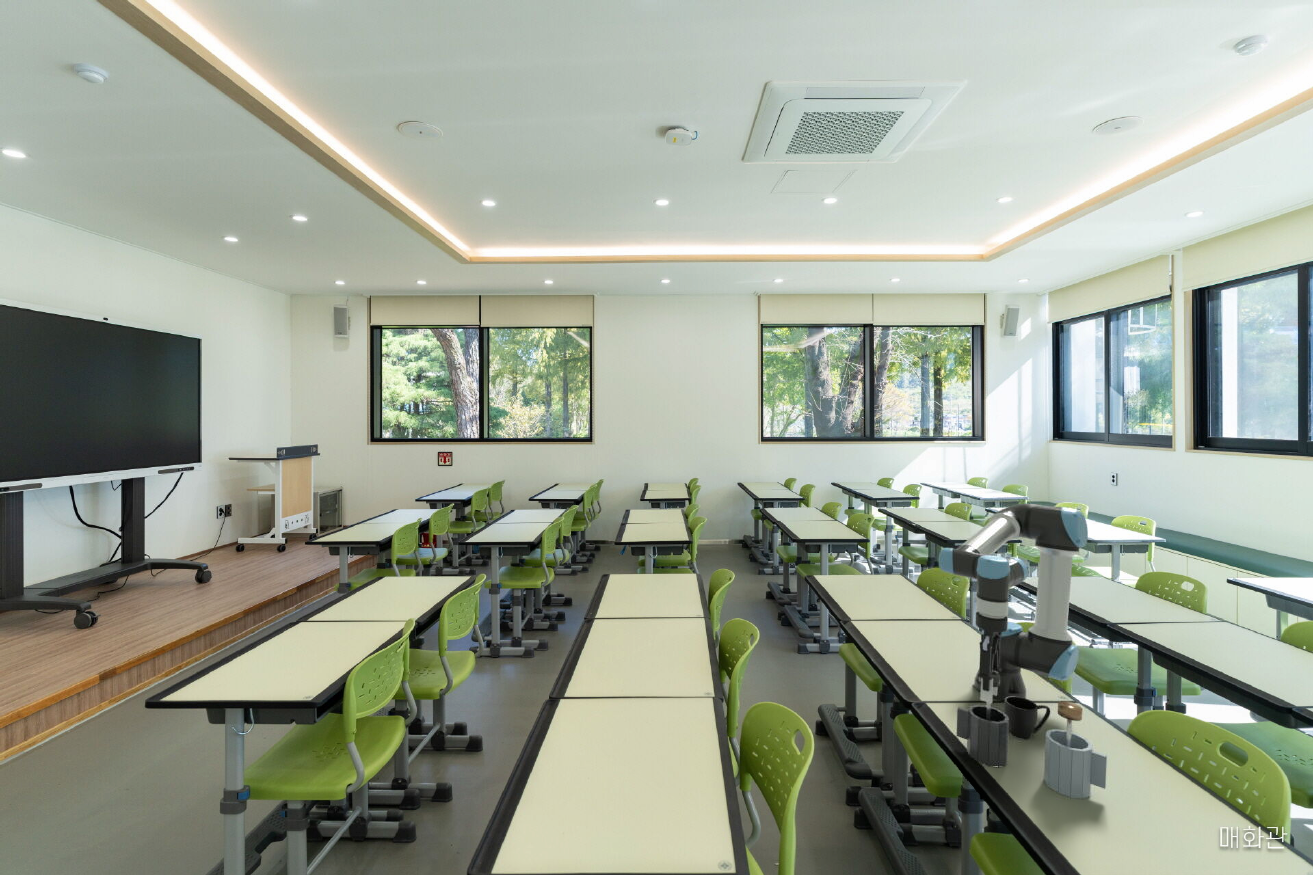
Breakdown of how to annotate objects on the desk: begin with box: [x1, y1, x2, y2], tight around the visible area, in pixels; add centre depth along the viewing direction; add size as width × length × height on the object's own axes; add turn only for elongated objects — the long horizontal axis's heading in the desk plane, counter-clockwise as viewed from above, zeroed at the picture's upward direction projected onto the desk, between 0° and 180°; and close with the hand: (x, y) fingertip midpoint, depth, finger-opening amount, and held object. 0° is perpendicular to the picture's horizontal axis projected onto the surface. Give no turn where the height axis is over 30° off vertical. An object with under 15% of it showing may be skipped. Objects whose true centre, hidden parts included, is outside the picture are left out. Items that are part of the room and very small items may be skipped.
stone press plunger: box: [1057, 700, 1083, 748], centre depth 144 cm, size 6×6×18 cm
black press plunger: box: [979, 671, 1000, 721], centre depth 156 cm, size 6×6×18 cm
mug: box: [1003, 696, 1051, 741], centre depth 167 cm, size 8×12×10 cm
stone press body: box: [1043, 728, 1108, 800], centre depth 143 cm, size 9×12×12 cm
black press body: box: [956, 704, 1010, 768], centre depth 157 cm, size 9×12×12 cm
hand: (988, 697), depth 156 cm, fingers closed on black press plunger, 5 cm apart
